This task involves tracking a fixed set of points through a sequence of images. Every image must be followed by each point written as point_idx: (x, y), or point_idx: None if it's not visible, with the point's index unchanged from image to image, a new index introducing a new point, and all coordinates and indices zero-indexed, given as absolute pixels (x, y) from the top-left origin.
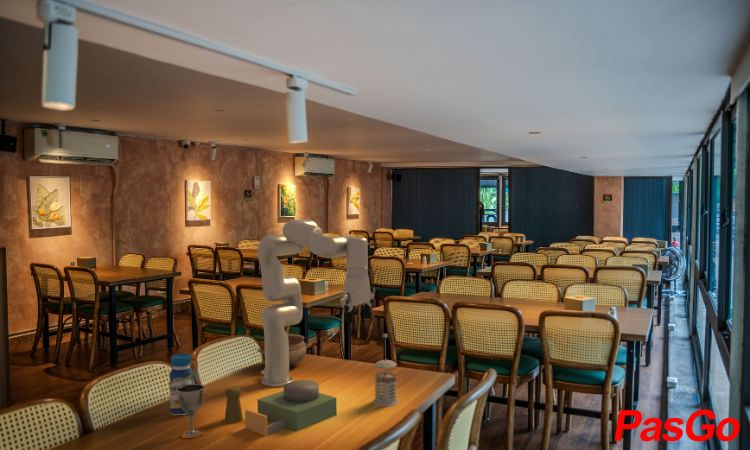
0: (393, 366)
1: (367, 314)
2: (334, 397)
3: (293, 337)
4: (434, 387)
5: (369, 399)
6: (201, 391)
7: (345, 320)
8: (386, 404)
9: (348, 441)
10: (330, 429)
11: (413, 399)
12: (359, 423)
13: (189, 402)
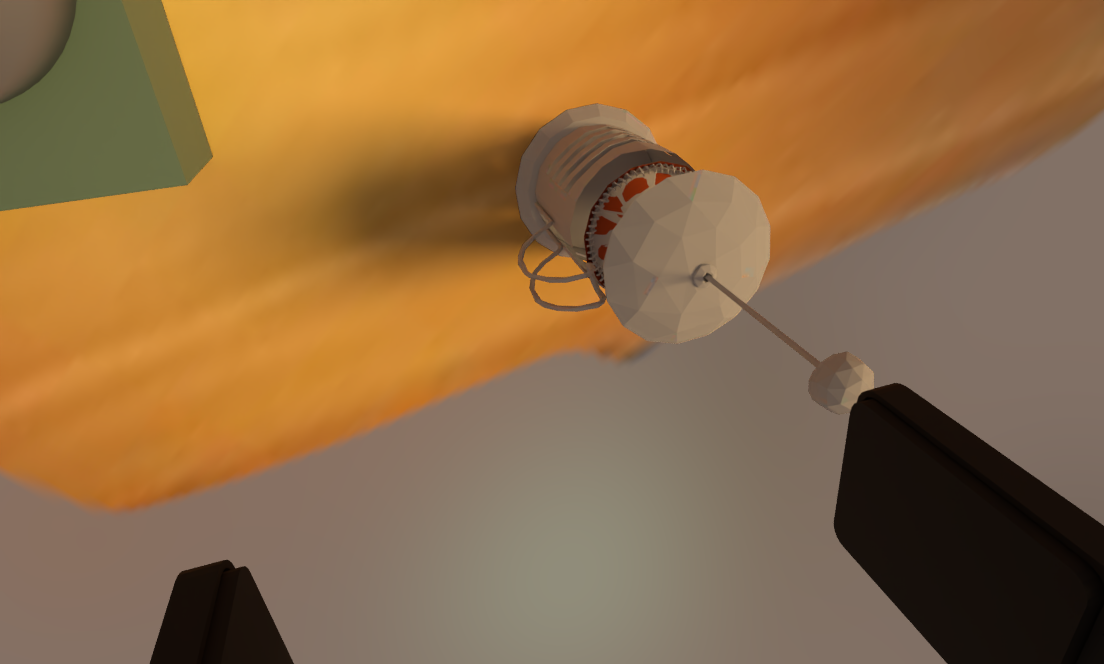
0: (682, 340)
1: (898, 561)
2: (176, 170)
3: None
4: (911, 195)
5: (555, 82)
6: None
7: (179, 623)
8: (548, 240)
9: (78, 481)
10: (57, 316)
11: None
12: (261, 342)
13: None
